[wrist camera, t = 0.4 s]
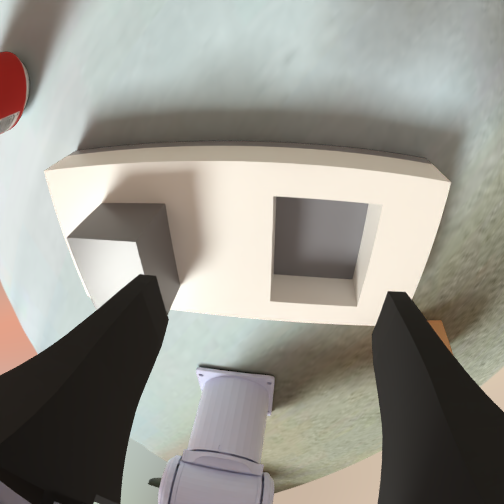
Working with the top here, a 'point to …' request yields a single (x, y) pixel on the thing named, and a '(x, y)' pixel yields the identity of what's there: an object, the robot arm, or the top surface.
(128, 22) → the top surface
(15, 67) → the beverage can
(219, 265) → the white slotted slab
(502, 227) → the top surface
